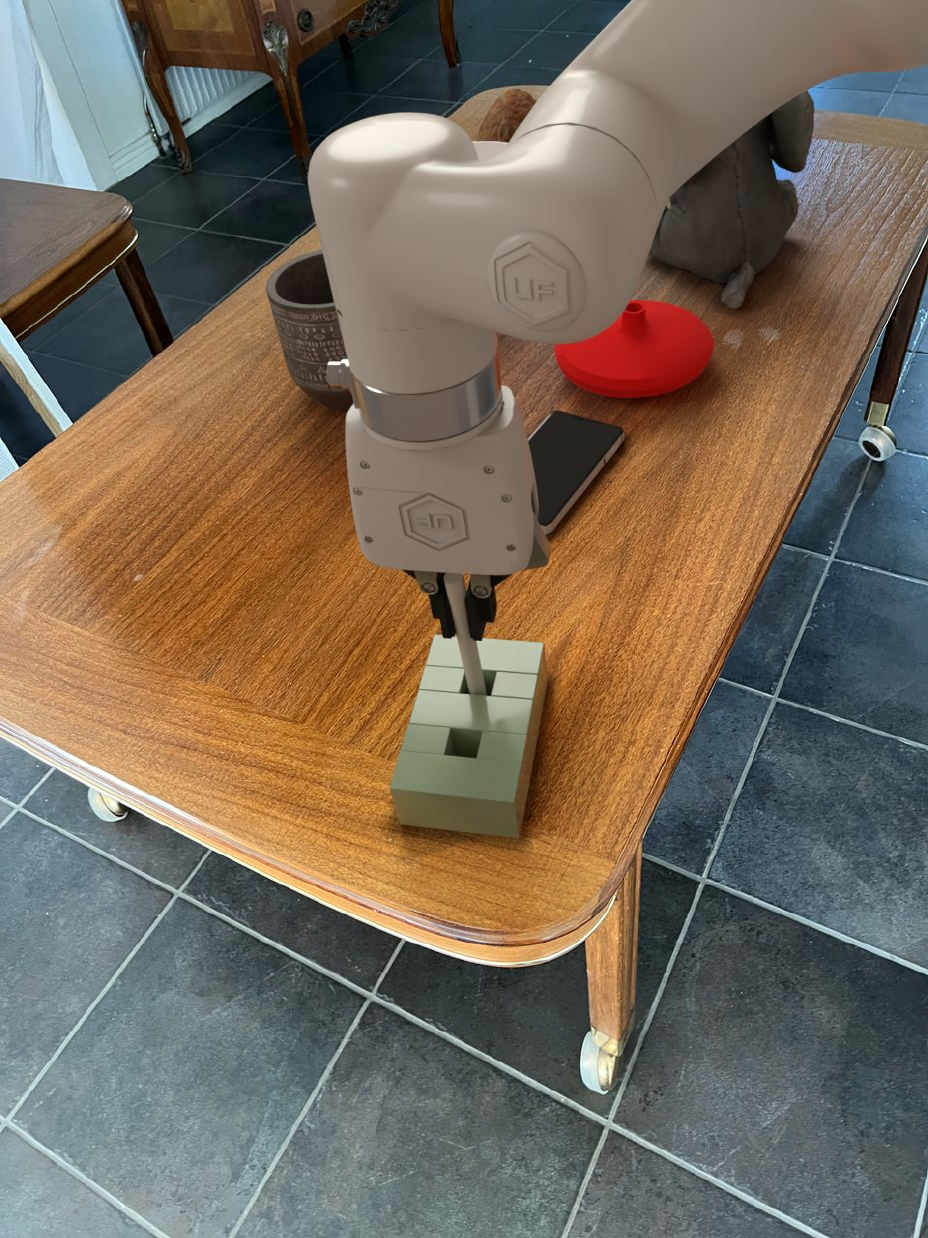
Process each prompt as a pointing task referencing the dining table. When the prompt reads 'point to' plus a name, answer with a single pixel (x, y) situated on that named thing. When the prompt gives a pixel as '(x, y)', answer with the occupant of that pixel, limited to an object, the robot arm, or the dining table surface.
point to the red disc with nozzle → (640, 352)
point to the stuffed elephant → (739, 203)
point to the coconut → (506, 116)
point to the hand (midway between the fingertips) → (467, 622)
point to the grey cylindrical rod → (464, 633)
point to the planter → (308, 326)
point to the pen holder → (472, 740)
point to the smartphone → (568, 460)
